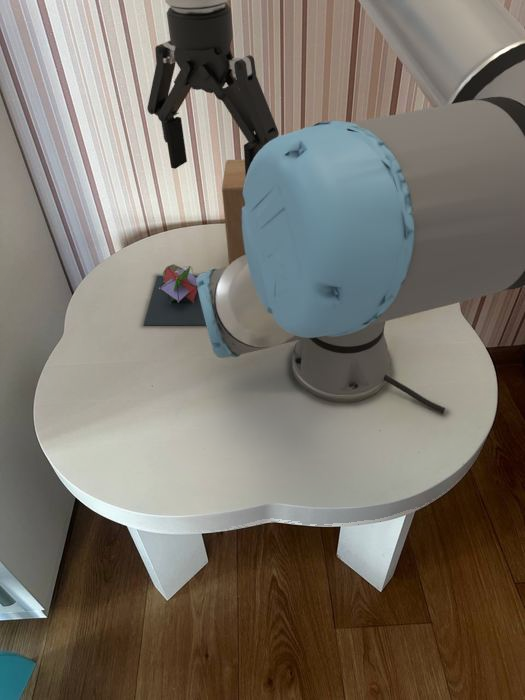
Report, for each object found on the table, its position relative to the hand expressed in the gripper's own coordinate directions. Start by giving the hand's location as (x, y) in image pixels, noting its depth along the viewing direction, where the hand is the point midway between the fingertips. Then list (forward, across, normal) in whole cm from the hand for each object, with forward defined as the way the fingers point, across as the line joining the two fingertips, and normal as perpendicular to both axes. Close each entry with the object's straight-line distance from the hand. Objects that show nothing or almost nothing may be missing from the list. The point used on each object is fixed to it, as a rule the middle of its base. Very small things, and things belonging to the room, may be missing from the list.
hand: (215, 176), depth 80 cm
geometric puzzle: (+26, -10, -1) cm, 28 cm away
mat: (+26, -10, -1) cm, 28 cm away
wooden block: (+27, -4, +14) cm, 31 cm away
